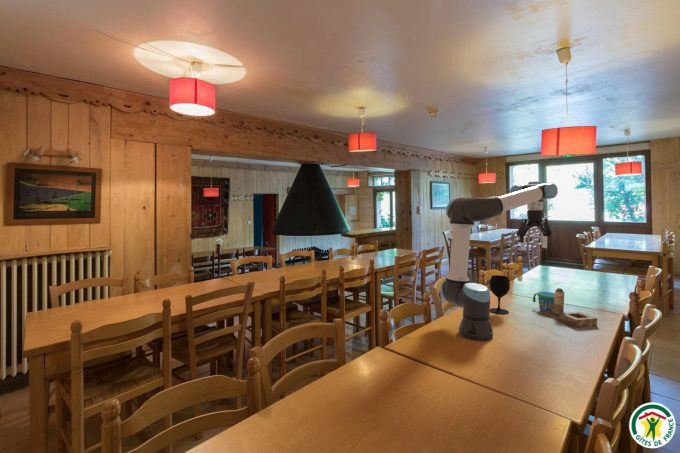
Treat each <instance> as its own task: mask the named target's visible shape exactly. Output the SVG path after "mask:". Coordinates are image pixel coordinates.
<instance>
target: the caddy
mask: <svg viewBox="0 0 680 453" xmlns="http://www.w3.org/2000/svg"><path fill="white" fill-rule="evenodd" d="M539 314H540V315H543V316H545V317H548V318H550V319H552V320H555V321H557V322H559V323H561V324H564V325H565V326H568V327H570V328H573V329H581V328H592V327H598V317H595V316H592V315H590V314H586V313H584V312H581V311H574V312H565V311H564V312H563V313H560V316H555V315H554V312H543V313H542V312H541V313H539Z"/></svg>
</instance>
